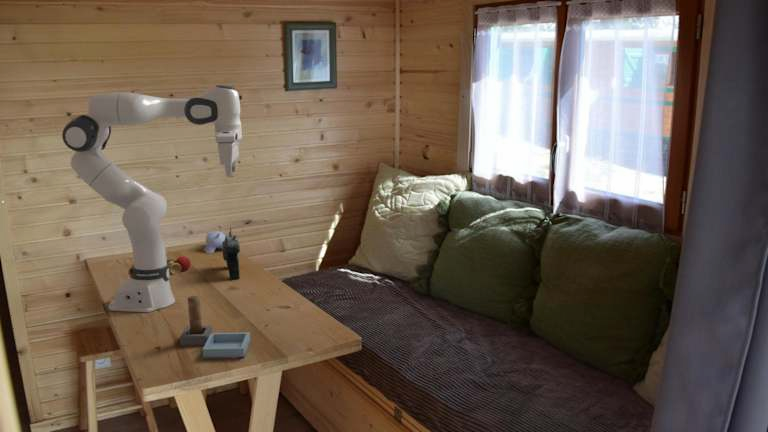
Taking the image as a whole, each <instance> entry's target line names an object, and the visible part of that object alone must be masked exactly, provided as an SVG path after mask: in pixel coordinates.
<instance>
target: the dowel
mask: <svg viewBox="0 0 768 432" xmlns="http://www.w3.org/2000/svg"><path fill="white" fill-rule="evenodd" d="M187 304H188V305H187V306H188V307H187V308H188V316H189V318H188V319H189V326H190V332H191V334H203V332H202V326H203V323H202V322H203V320H202V310H201V297H200V296H199V295H192V296H191V295H190V296H188V297H187Z"/></svg>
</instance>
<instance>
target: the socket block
mask: <svg viewBox="0 0 768 432" xmlns="http://www.w3.org/2000/svg"><path fill="white" fill-rule="evenodd" d="M202 332H203V334H191V332H190V325H189V326H186V327H185V329H184V330H183V332H182V333H181V334H180V337H179V338H180V346H181V347H182V346H205V344H206V342H207V340H208V338H209V336H210V334H211V333H213V325H202Z"/></svg>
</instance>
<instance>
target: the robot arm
mask: <svg viewBox="0 0 768 432" xmlns="http://www.w3.org/2000/svg"><path fill="white" fill-rule="evenodd" d="M87 109H88V110H87V114H81V115H80V116H78V117H76V118H75V119H73V120H70V121H69V122H68V123H67V124H66V125H65V126H64V128H63V130H62V135H61V136H62V140H63V143H64V144H65V146H66V147H67V148H69V149H70V150H71V151H75V152H74V153H73V155H72V156H71V158H70V167H71V168H72V170H73V171H74V172H75V173H76V175H77V176H78V177H80V179H81V180H83V182H84V183H85V184H87V186H88V187H89V188H91V189H92V190H93V191H94V192H96V193H97V194H99V196H101V197H102V199H104V200H105V201H106V202H108V203H110V204H114V205H116V206H118V207H120V208H122V209H123V210H124V211H123V213H122V217H121V221H122V224H123V226H124V228H125V229H126V230H127V233H128V237H129V240H130V243H131V249H132V255H133V264H132V265H131V266H130V268H129V269H128V271H127V273H128V274H127V275H129V277H128V278H127V279H126V280H125V281H123V282H122V283H121V284H119V286H118V287H117V289H116V290H115V293H114V294H115V295H114V299H112V300H111V301H110V302H109V303H108V311H112V312H128V313H129V312H133V313H150V312H153V311H155V310H159V309H163V308H167V307H169V306H171V305H174V303H175V302H176V298H175V296H174V294H173V291H172V287H171V283H170V276H171V275H170V274H171V273H170V271H169V266H168V263H167V260H168V257H167V250H166V243H165V240H164V238H163V236H162V233H161V229H160V222H161V221H162V220H163V219H164V218H165V216H166V214H167V210H168V203H167V200H166V198H164V196H163V195H161V194H160V193H157V192H154V191H152V190H151V189H150V188H147V187H146V186H144V185H142V184H141V183H139V182H138V181H135V180H134V179H133V178H132V177H130V176H129V175H127V174H126V173H125V172H124V171H123V170H121V169H120V168H119V167H118V166H117V165H116V164H114V163H113V162H112V161H111V160H110V159H109V158H108V157H107V156H105V154H104V153H103V151H102V150H104V149H105V148H106V146H107V144H108V141H109V139H110V137H111V134H112V126H113V127H114V126H123V127H124V126H129V127H130V126H138V125H143V124H147V123H150V122H153V121H155V120H159V119H162V118H171V117H176V118H177V117H179V118H180V117H185V118H186V119H187V120H188V121H189V122H190V123H191V124H193V125H197V126H204V125H207V124H210V123H213V124H214V133H215V135H214V136H215V143H217V150H218V157H219V161H220V164H221V166H224V170H225V176H226V178H232V176H233V173H235V172H237V168H236V165H237V159H238V158H239V156H240V151H239V150H240V149H239V140H242V139H243V132H242V131H243V130H242V129H243V128H242V122H241V118H240V117H241V102H240V96H239V92H238V90H237V89H236V88H235V87H233V86H230V85H222V84H217V85H214V86H213V87H212V88H211V89H209V90H207V91H206V92H203V93H201V94H199V95H196V96H194V97H187V98H184V97H183V98H181V97H179V98H178V97H177V98H176V97H174V98H169V97H166V98H165V97H160V96H159V97H158V96H152V95H148V94H142V93H135V92H127V91H124V92H120V91H119V92H117V91H116V92H105V93H99V94H95V95H94V96H92V97H91V98H90V99H89V101H88V105H87Z"/></svg>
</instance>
